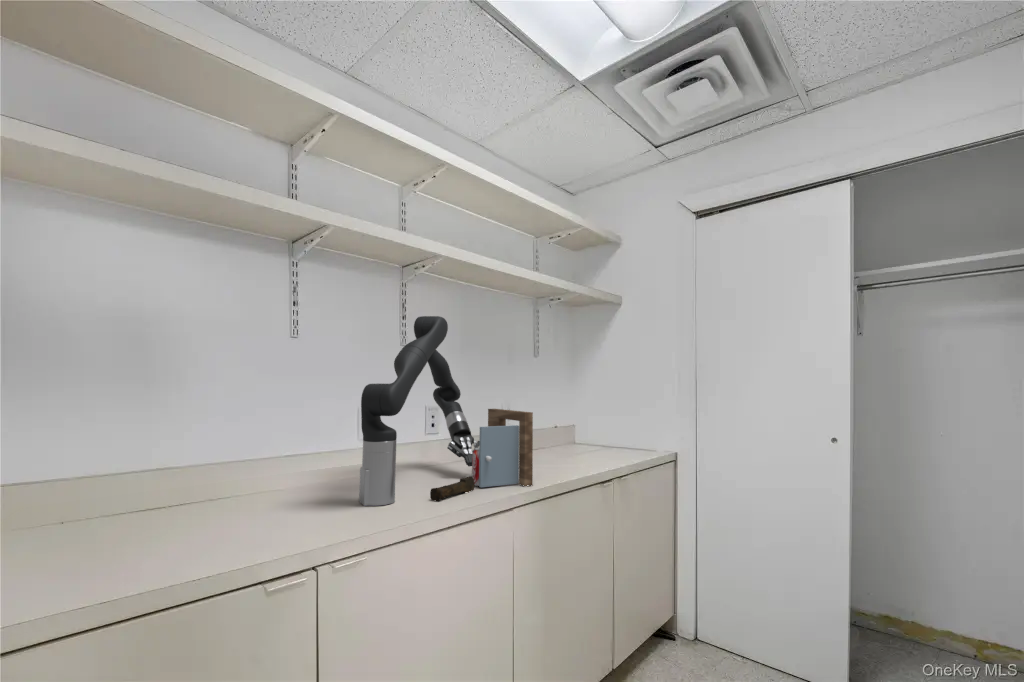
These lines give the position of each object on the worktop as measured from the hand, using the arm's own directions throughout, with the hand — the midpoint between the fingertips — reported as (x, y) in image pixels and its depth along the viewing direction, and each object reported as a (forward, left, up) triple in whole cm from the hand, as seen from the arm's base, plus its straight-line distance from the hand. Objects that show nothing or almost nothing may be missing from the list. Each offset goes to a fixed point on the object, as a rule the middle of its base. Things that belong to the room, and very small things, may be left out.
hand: (471, 464), depth 173 cm
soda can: (0, -10, -5) cm, 11 cm away
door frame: (+12, -5, -5) cm, 14 cm away
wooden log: (-14, -18, -6) cm, 24 cm away
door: (+3, -15, -5) cm, 16 cm away
